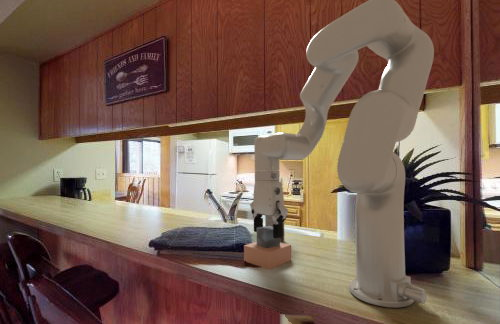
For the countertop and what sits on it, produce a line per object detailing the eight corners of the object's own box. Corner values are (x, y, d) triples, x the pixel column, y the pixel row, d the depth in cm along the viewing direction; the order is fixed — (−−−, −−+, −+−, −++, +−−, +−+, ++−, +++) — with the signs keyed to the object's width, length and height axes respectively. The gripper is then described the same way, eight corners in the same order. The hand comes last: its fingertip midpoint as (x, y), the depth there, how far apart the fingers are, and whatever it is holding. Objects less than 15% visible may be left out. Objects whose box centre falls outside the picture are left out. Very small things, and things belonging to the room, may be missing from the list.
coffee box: (283, 246, 94) (282, 201, 95) (265, 246, 95) (264, 200, 96) (284, 240, 103) (284, 198, 104) (268, 239, 104) (267, 198, 105)
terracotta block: (291, 261, 80) (291, 244, 80) (270, 270, 73) (269, 252, 73) (265, 254, 87) (265, 239, 87) (244, 262, 80) (243, 245, 80)
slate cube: (279, 245, 79) (279, 228, 79) (265, 248, 77) (265, 230, 77) (270, 241, 83) (270, 225, 84) (256, 244, 81) (256, 227, 81)
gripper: (296, 177, 75) (297, 238, 75) (260, 176, 90) (261, 227, 89) (275, 178, 71) (276, 242, 71) (241, 177, 86) (242, 230, 85)
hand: (267, 234), depth 80 cm, fingers open, 9 cm apart
